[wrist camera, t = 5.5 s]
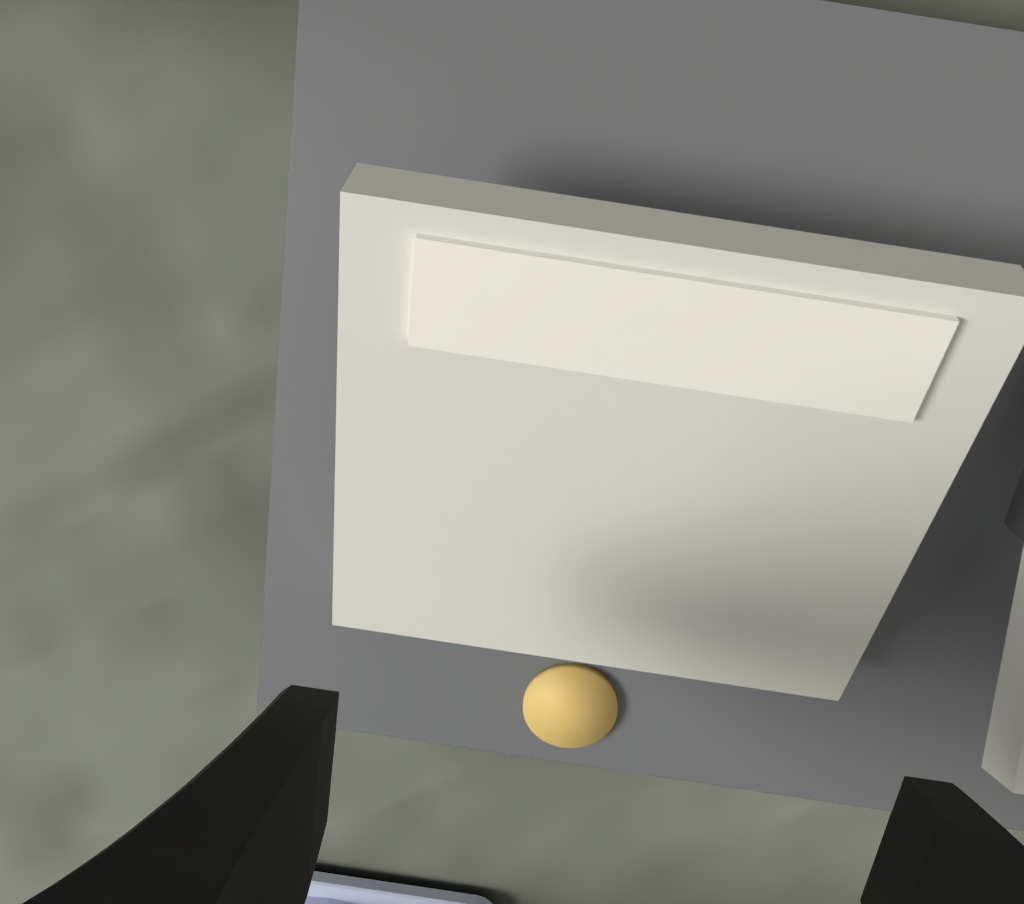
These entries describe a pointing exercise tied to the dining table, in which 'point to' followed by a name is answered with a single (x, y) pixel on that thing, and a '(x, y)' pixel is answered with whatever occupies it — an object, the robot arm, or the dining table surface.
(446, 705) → the switch panel
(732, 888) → the dining table surface
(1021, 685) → the switch
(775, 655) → the switch
